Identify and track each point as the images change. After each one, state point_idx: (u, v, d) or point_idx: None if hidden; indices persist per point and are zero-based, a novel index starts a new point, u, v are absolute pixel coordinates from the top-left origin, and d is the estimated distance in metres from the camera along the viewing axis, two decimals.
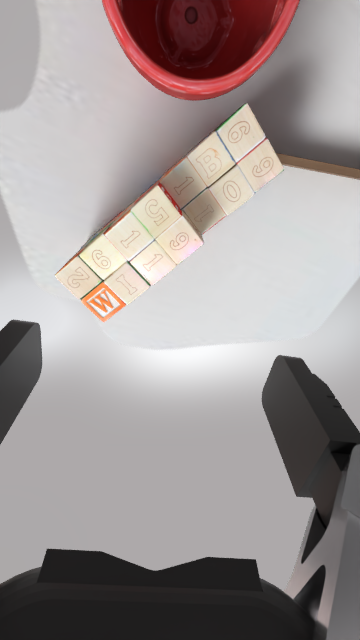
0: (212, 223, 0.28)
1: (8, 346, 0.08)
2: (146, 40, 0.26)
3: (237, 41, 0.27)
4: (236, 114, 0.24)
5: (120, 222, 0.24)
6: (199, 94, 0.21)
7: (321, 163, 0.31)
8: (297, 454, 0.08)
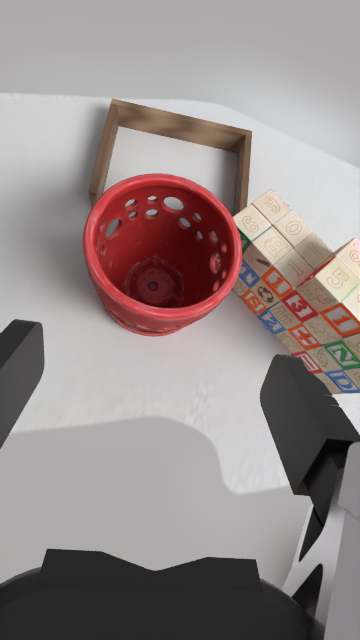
0: (321, 243, 0.29)
1: (11, 345, 0.08)
2: None
3: (169, 250, 0.34)
4: (238, 226, 0.28)
5: (353, 312, 0.24)
6: None
7: (243, 182, 0.37)
8: (294, 452, 0.08)
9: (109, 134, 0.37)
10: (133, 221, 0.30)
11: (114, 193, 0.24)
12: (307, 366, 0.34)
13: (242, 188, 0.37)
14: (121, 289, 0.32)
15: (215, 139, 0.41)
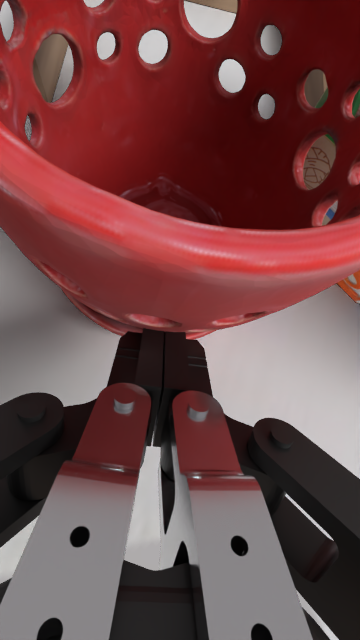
0: None
1: (157, 342, 0.09)
2: None
3: (191, 163, 0.16)
4: None
5: None
6: None
7: None
8: None
9: None
10: (111, 70, 0.13)
11: None
12: None
13: None
14: None
15: None
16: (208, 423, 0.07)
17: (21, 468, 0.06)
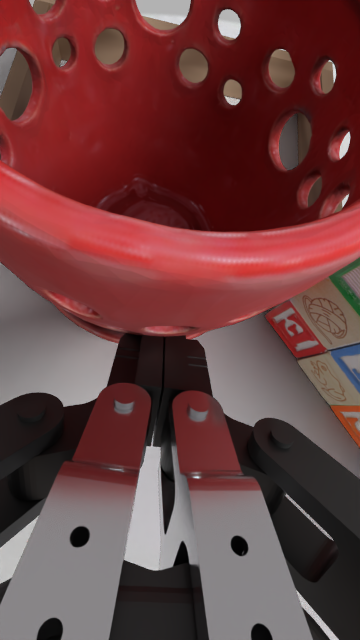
0: None
1: (157, 342, 0.09)
2: None
3: (164, 159, 0.16)
4: None
5: None
6: None
7: None
8: None
9: None
10: (70, 77, 0.12)
11: None
12: None
13: None
14: None
15: None
16: (208, 423, 0.07)
17: (21, 468, 0.06)
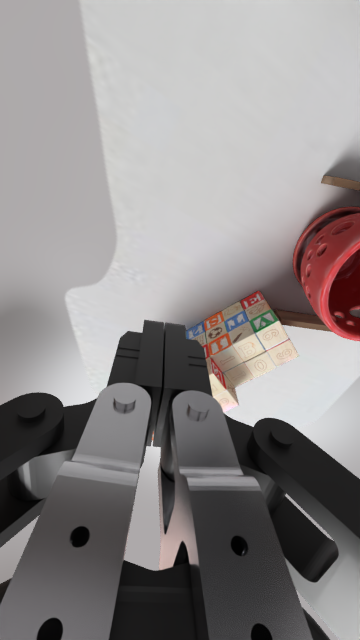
0: (243, 381, 0.38)
1: (157, 342, 0.09)
2: None
3: None
4: (270, 325, 0.34)
5: None
6: None
7: (320, 325, 0.42)
8: None
9: None
10: None
11: None
12: None
13: (314, 324, 0.41)
14: None
15: None
16: (208, 423, 0.07)
17: (21, 468, 0.06)
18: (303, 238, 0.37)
